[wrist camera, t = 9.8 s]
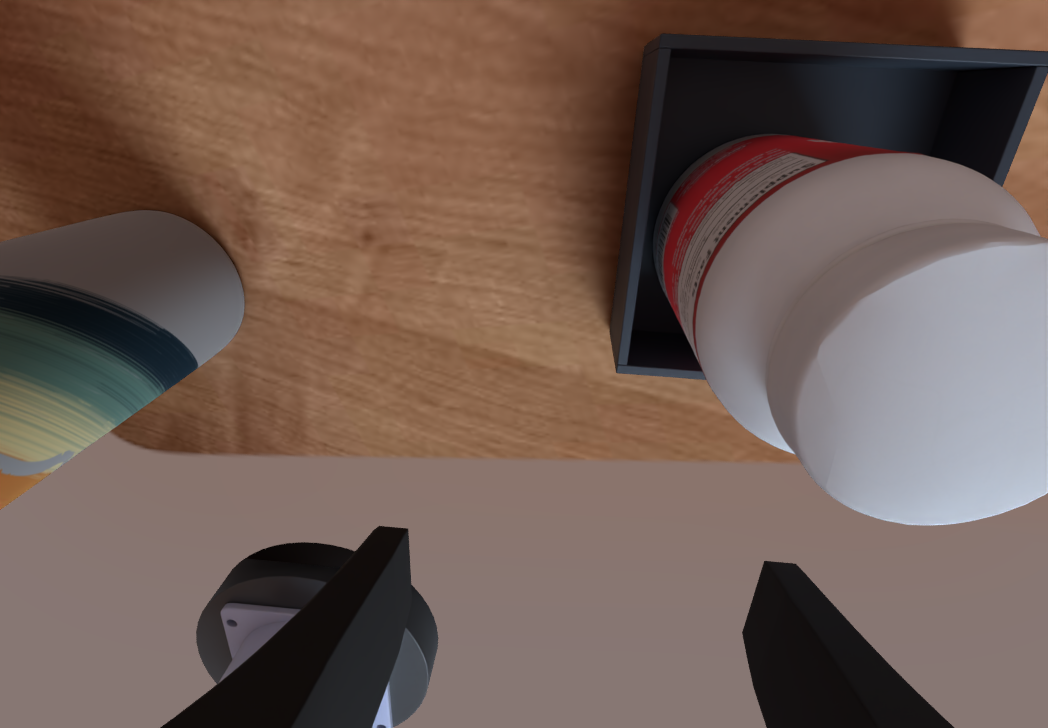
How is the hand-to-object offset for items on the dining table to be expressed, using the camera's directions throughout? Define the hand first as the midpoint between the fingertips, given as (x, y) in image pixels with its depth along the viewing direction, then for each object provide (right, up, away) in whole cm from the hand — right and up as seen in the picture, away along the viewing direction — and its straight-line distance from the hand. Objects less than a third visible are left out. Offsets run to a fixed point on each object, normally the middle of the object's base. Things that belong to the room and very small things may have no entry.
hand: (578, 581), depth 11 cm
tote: (+7, +9, +7) cm, 13 cm away
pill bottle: (+6, +9, +7) cm, 12 cm away
